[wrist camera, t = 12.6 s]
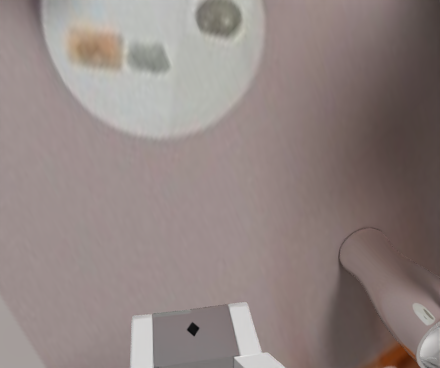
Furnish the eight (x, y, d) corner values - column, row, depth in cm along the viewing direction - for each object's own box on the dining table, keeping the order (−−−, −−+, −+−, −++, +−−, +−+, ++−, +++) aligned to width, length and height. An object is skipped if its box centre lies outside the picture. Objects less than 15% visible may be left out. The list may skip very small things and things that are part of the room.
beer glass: (341, 283, 49) (418, 387, 36) (330, 237, 46) (410, 330, 33) (394, 262, 50) (491, 357, 36) (386, 215, 47) (489, 299, 33)
